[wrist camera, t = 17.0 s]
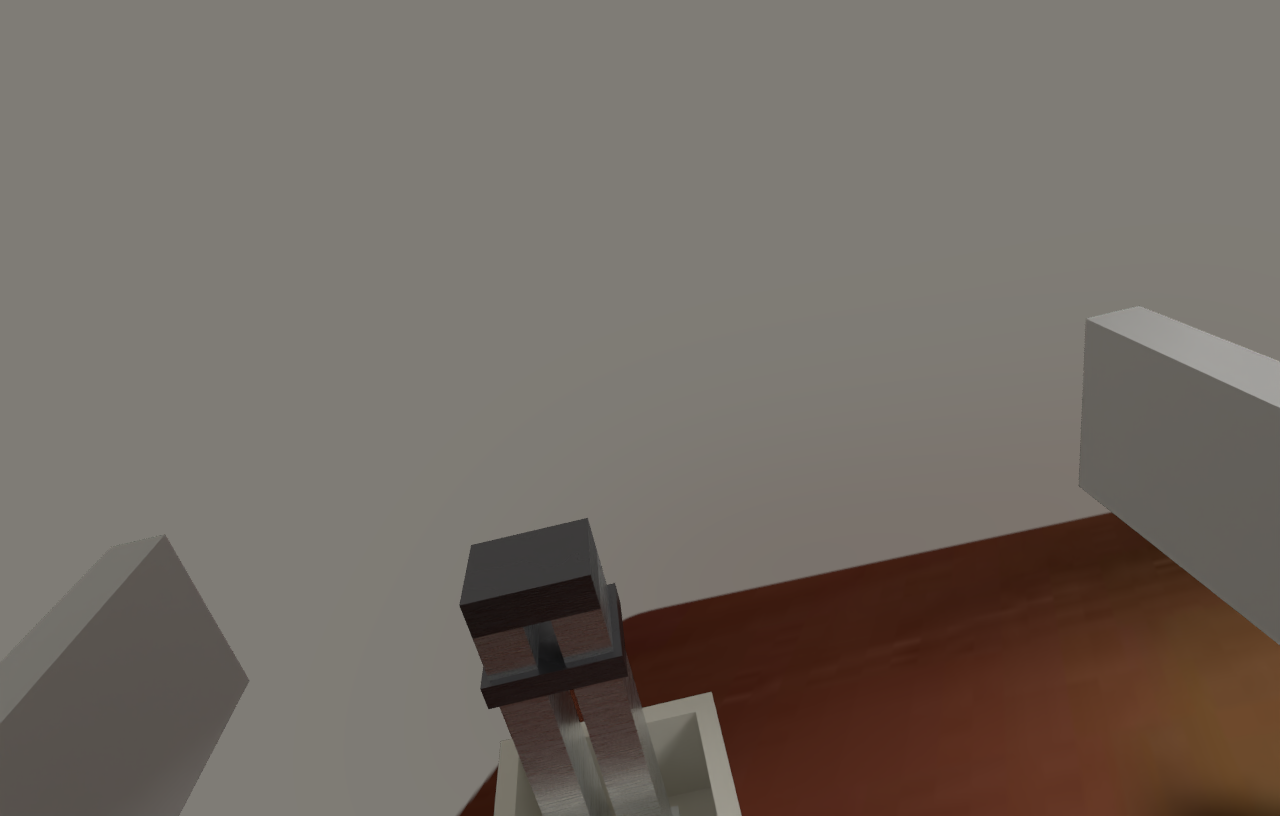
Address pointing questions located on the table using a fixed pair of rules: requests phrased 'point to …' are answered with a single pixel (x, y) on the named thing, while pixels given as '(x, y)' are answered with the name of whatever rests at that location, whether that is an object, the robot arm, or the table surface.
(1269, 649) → the table surface
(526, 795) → the open box
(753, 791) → the table surface
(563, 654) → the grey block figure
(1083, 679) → the table surface
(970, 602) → the table surface
